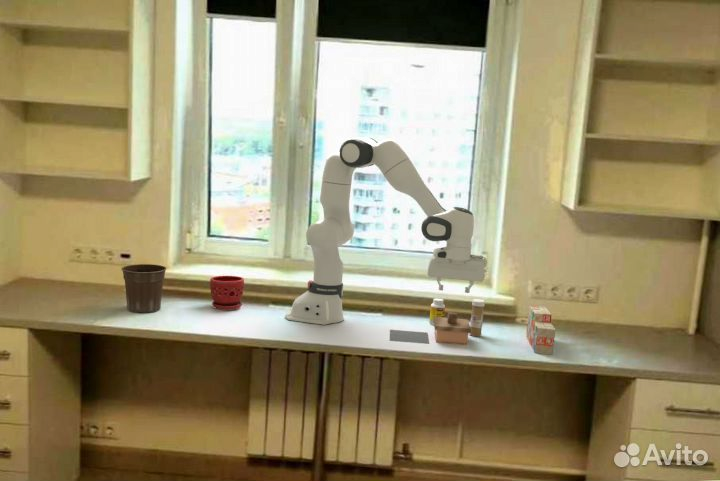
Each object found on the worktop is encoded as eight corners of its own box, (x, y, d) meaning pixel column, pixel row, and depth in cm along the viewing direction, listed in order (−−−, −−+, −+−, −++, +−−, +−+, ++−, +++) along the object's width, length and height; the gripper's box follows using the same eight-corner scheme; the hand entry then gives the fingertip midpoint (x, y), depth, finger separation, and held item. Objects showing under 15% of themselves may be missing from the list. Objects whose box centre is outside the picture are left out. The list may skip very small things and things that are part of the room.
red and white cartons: (552, 355, 246) (556, 321, 244) (534, 353, 246) (538, 319, 244) (542, 337, 267) (545, 306, 265) (525, 336, 267) (529, 304, 265)
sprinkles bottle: (467, 335, 262) (471, 300, 260) (470, 332, 267) (473, 298, 265) (480, 337, 261) (483, 302, 259) (482, 334, 265) (486, 299, 263)
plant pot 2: (248, 305, 284) (249, 276, 282) (234, 313, 272) (236, 282, 270) (217, 301, 287) (219, 273, 285) (203, 309, 274) (204, 279, 273)
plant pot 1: (111, 308, 267) (112, 266, 264) (146, 301, 280) (147, 261, 277) (139, 317, 257) (140, 274, 255) (174, 309, 271) (175, 268, 268)
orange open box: (436, 343, 250) (437, 329, 249) (434, 334, 261) (435, 321, 260) (467, 345, 250) (468, 332, 249) (464, 336, 260) (465, 323, 260)
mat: (389, 341, 248) (389, 340, 248) (389, 330, 262) (389, 329, 262) (429, 344, 248) (429, 343, 248) (427, 333, 261) (427, 332, 261)
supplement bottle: (435, 327, 270) (437, 301, 269) (426, 323, 275) (428, 298, 273) (446, 326, 273) (448, 300, 272) (437, 322, 278) (439, 297, 276)
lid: (435, 330, 248) (436, 316, 248) (433, 320, 261) (434, 307, 260) (470, 332, 248) (472, 319, 247) (467, 323, 260) (468, 310, 260)
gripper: (486, 254, 253) (481, 292, 255) (429, 249, 254) (425, 286, 256) (488, 257, 247) (484, 296, 249) (430, 252, 248) (426, 290, 250)
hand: (453, 291), depth 253 cm, fingers open, 8 cm apart
